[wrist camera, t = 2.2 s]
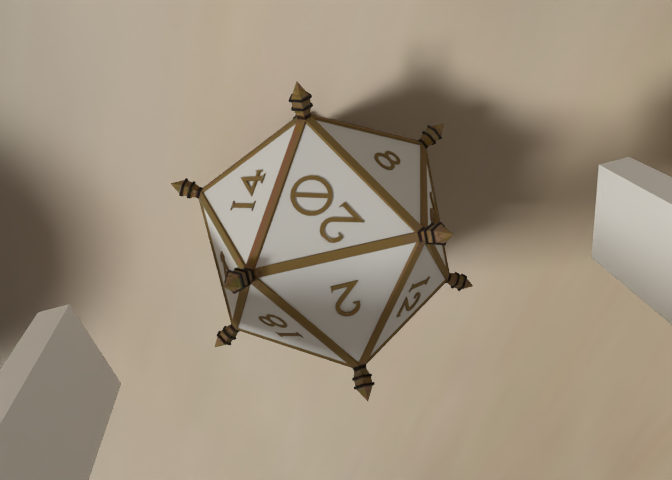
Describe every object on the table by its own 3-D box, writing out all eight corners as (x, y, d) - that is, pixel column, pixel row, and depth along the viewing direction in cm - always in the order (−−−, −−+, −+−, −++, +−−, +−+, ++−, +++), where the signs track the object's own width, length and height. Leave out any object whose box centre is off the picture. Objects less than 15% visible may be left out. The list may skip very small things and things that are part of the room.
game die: (261, 164, 21) (41, 196, 12) (422, 47, 17) (259, -27, 8) (354, 339, 21) (199, 495, 12) (540, 266, 17) (501, 426, 8)
